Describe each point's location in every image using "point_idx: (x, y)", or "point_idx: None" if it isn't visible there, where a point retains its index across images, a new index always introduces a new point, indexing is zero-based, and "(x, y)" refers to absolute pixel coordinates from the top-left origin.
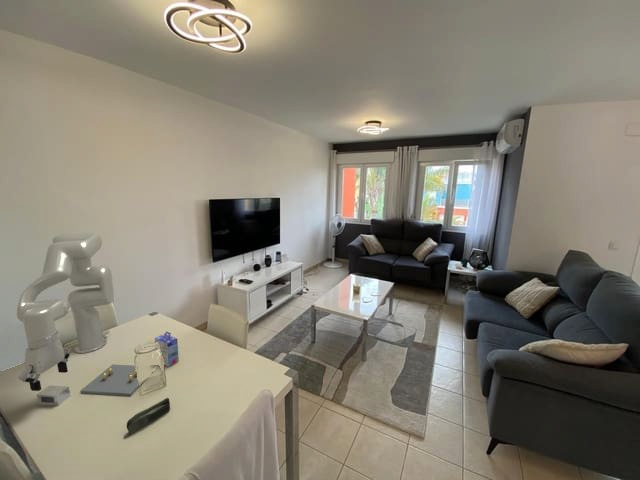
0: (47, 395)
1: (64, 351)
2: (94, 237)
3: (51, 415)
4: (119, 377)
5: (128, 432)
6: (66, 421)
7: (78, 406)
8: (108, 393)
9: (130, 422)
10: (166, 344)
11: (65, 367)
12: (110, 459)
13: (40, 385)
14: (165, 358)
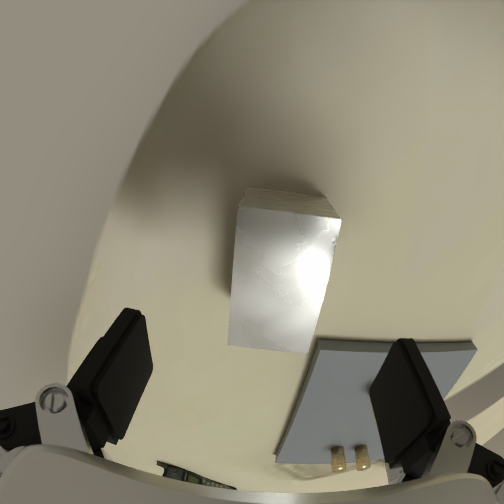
0: (231, 288)
1: None
2: None
3: (179, 312)
4: (373, 419)
5: (164, 468)
6: (164, 374)
7: (233, 374)
8: (290, 425)
9: None
10: None
11: (382, 432)
12: (120, 451)
13: (138, 398)
14: (398, 477)
